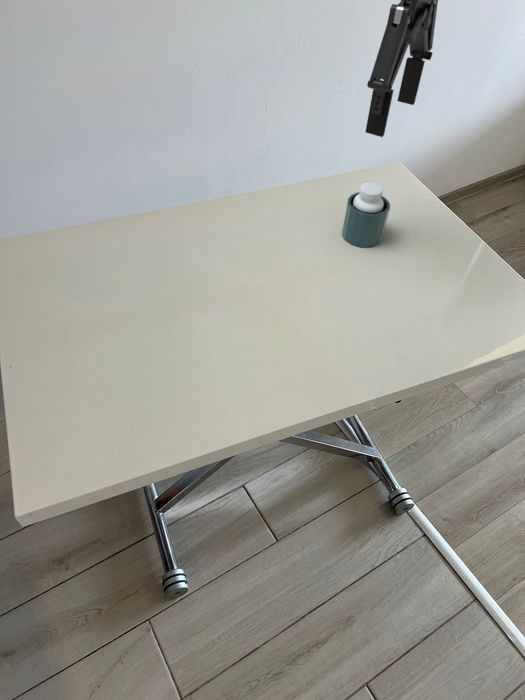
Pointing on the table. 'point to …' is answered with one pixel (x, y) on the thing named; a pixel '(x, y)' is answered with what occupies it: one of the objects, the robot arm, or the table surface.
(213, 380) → the table surface
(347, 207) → the cup
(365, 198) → the pill bottle
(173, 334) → the table surface
